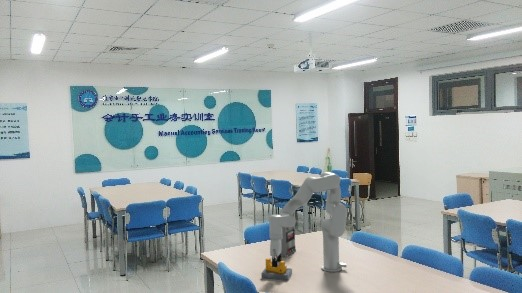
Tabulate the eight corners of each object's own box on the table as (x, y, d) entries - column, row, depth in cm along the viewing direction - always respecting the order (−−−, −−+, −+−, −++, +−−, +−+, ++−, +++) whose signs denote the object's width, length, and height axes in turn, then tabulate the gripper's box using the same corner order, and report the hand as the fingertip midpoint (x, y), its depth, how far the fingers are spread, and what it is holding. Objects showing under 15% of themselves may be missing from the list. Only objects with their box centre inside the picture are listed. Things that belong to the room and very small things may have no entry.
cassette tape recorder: (287, 256, 276) (286, 220, 275) (279, 255, 279) (278, 219, 278) (296, 251, 288) (295, 216, 287) (288, 250, 291) (287, 215, 290)
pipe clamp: (286, 271, 241) (286, 260, 240) (282, 273, 237) (282, 262, 237) (269, 267, 247) (269, 257, 247) (265, 269, 244) (265, 259, 243)
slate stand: (292, 273, 244) (292, 268, 244) (288, 280, 234) (288, 275, 234) (266, 271, 249) (266, 266, 249) (261, 278, 239) (261, 273, 238)
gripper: (273, 231, 250) (274, 259, 251) (265, 239, 233) (266, 268, 234) (285, 232, 248) (286, 260, 248) (278, 240, 231) (279, 269, 232)
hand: (276, 264), depth 241 cm, fingers open, 9 cm apart
